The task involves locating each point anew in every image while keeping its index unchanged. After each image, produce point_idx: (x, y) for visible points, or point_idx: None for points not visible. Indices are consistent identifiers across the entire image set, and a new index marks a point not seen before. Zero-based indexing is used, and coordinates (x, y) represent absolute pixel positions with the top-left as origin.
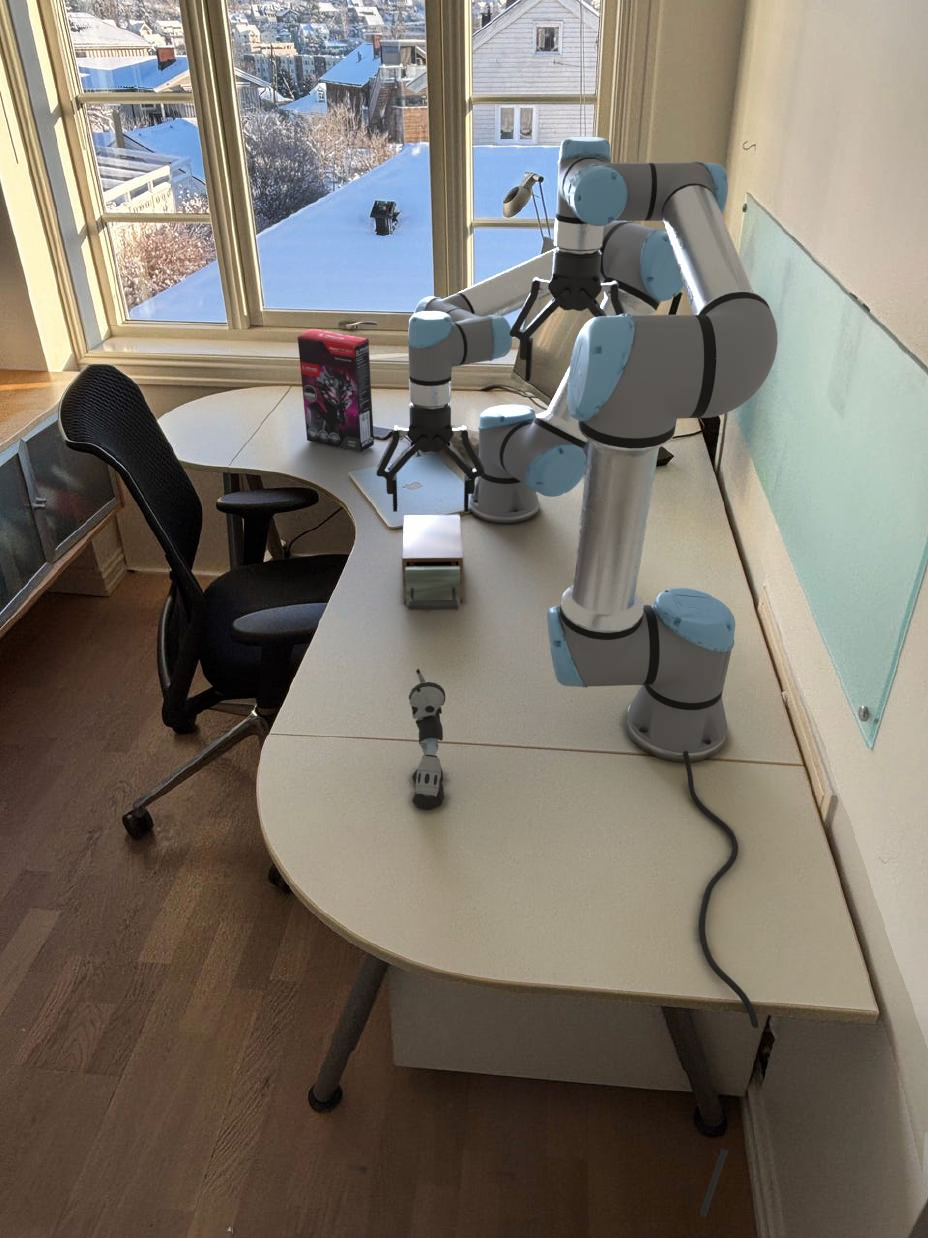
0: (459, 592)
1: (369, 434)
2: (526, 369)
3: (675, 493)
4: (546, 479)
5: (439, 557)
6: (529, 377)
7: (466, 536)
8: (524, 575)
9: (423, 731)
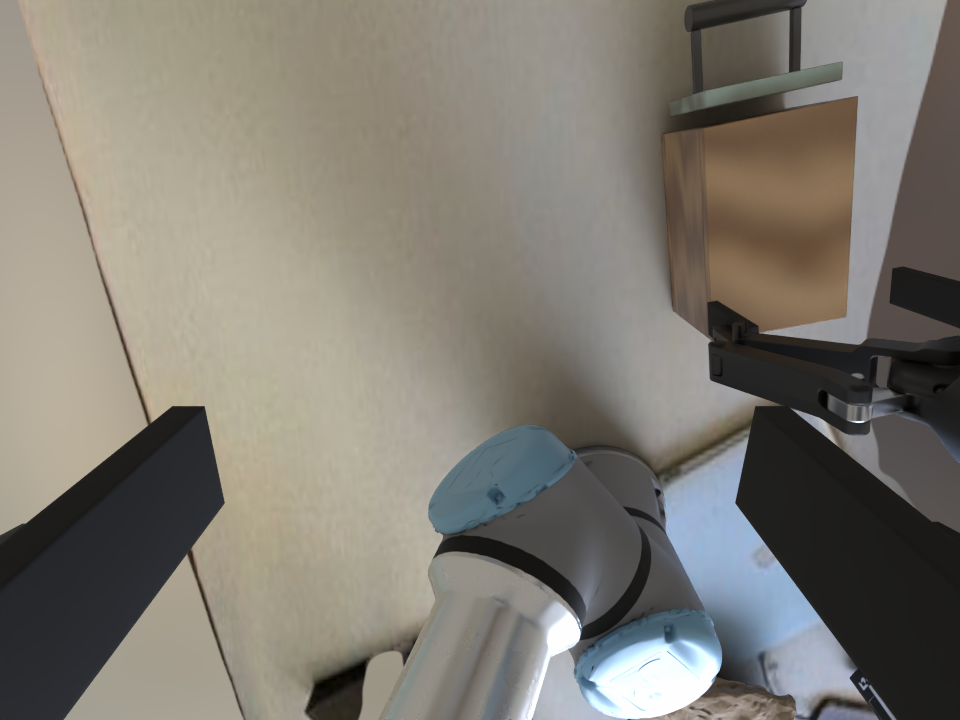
0: (681, 98)
1: (874, 692)
2: (834, 450)
3: (286, 595)
4: (523, 435)
5: (762, 117)
6: (771, 417)
7: (662, 390)
8: (539, 263)
9: None
